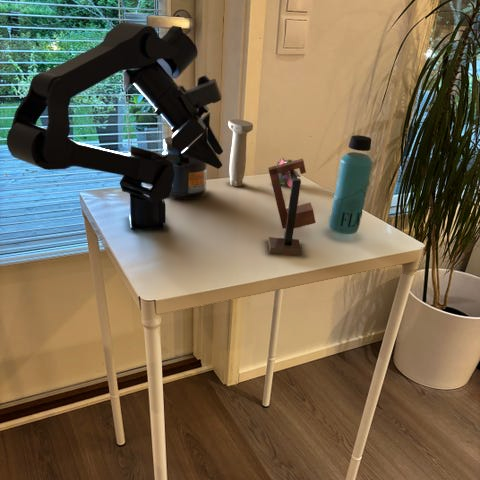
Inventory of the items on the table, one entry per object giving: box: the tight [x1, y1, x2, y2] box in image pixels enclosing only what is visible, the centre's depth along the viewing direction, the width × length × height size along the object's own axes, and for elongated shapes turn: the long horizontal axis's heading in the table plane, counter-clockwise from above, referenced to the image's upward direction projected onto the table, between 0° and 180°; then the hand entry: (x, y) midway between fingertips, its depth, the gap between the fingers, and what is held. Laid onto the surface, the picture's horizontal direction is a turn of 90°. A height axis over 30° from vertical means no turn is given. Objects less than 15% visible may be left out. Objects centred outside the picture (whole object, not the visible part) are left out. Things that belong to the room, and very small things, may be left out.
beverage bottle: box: [328, 134, 374, 235], centre depth 101 cm, size 6×7×20 cm
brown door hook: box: [267, 158, 316, 230], centre depth 100 cm, size 7×4×12 cm, turn 90°
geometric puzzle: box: [276, 157, 301, 189], centre depth 129 cm, size 7×7×8 cm
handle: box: [228, 118, 254, 187], centre depth 124 cm, size 5×6×15 cm
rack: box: [267, 159, 303, 257], centre depth 99 cm, size 6×16×14 cm, turn 1°
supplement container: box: [161, 135, 208, 200], centre depth 116 cm, size 10×10×12 cm
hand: (221, 159), depth 98 cm, fingers open, 9 cm apart
